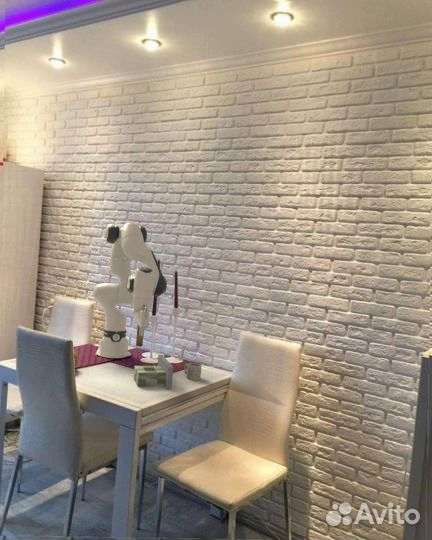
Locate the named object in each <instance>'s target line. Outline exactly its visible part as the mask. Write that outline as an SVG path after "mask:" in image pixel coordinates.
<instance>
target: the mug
mask: <svg viewBox="0 0 432 540" xmlns="http://www.w3.org/2000/svg"><path fill="white" fill-rule="evenodd" d="M183 373H184V374H186V379H187V380H190V381H200V380H201V376H202V364H201V363H198V362H189V363H185V364H184V368H183Z"/></svg>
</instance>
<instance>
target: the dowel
mask: <svg viewBox="0 0 432 540" xmlns="http://www.w3.org/2000/svg"><path fill="white" fill-rule="evenodd" d="M136 324H137V323H136ZM139 327H140V326H139V325H138V324H137V328H136V339H135V347H143V345H144V344H143V343H144V333H143V336H140V335H139V330H140V328H139Z"/></svg>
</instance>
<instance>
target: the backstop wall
mask: <svg viewBox="0 0 432 540" xmlns="http://www.w3.org/2000/svg"><path fill="white" fill-rule="evenodd" d="M157 366H161V368H162V369H163V370H164V371H165V373H166V375H165V386H164V387H165V389H166V390H168V391H169V390H172V389H173V376H174V366H173V365H172V364H171V362H170V361H169V360H168V359H167V358H166V357H165V356H164V354H158V357H157Z"/></svg>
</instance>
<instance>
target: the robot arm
mask: <svg viewBox="0 0 432 540" xmlns="http://www.w3.org/2000/svg"><path fill="white" fill-rule="evenodd" d="M104 238H105V241H106V242H107V243H108V244H111V249H110V256H109V257H110V258H109V269H108V270H109V273H110V274H111V276H113V277H115V278H117V279H118V280H119V283H112V282H110V283H109V282H103V283H98V284H96V286H94V288H93V291H92V295H93V298H94V300H95V301H96V302H97V304H99V305H100V306H101V308H102V310H103V312H104V318H105V322H104V329H103V337H102V338H101V339H100V340H99V341H98V346H99V347H98V348H97V350H96V352H95V356H97V355H98V356H99V357H103V358H107V359H123V358H127V357H130V356H132V354H131V352H129V340H128V338H127V333H128V332H127V315H126V314H125V313H124V312H123V311H122V310H120V309H118V308H117V306H116V305H125V306H126V305H127V306H131V305H132V307H131V308H133V320H134V322H135V323H136V324H138V325H139V326H140V327H139V328H140V330H139V335H140V336H143V337H144V334H143V333H144V332H145V329H149V326H150V310H152V309H153V303H154V302H153V301H154V299H153V298H154V296H155V297H160V296H162V295H163V294H164V293H165V292H166V291H167V286H168V285H167V284H168V283H167V280H166V277H165V276H164V274H163V272H162V270H161V268H160V265H159V263H158V260H157V257H156V255H155V253H154V251H153V250H151V249H150V248H149V247H148V245H146V242H147V240H148V231H147V229H146V228H145V227H144V226H141V225H138V224H137V223H134V222H128V223H109V224H108V225H106V228H105V230H104ZM132 260H133V261H135V262H140V263H142V264H144V265H145V266H146V267H144V266H143V267H142V266H141V267H138V268H136V270H135V273H132V272H131V270H132V269H131V268H132V267H131V266H132V265H131V263H132ZM98 356H97V357H98Z"/></svg>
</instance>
